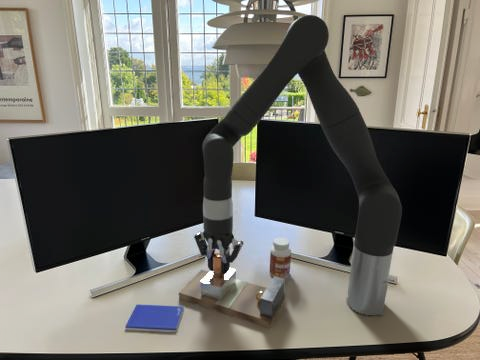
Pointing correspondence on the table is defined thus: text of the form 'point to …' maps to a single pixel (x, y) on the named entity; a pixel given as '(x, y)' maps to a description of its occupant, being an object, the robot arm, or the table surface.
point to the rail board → (230, 300)
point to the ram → (217, 280)
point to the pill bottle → (280, 258)
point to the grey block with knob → (271, 297)
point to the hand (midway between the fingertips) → (218, 270)
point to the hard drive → (155, 318)
